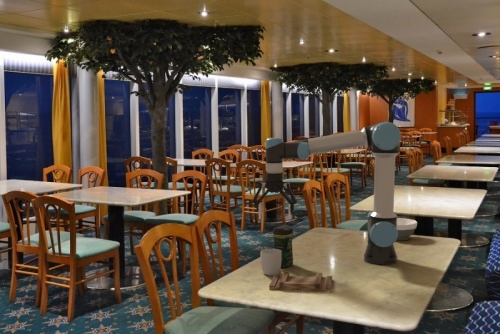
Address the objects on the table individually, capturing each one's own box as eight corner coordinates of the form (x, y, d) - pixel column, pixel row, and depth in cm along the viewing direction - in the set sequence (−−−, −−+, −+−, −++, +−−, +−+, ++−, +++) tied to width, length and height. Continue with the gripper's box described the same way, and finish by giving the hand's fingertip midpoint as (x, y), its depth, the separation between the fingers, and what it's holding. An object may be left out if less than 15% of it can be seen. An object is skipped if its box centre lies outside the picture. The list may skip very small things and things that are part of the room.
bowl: (375, 235, 310) (375, 218, 310) (408, 234, 312) (408, 217, 312) (387, 243, 291) (387, 225, 290) (423, 241, 293) (423, 224, 292)
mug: (276, 277, 234) (275, 254, 233) (257, 275, 239) (257, 252, 238) (288, 269, 245) (288, 247, 245) (270, 267, 250) (269, 246, 249)
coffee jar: (285, 269, 247) (285, 228, 245) (270, 266, 251) (269, 226, 249) (296, 264, 255) (295, 224, 253) (281, 261, 259) (280, 223, 257)
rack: (332, 279, 229) (332, 273, 229) (330, 291, 214) (330, 284, 213) (275, 277, 234) (274, 271, 234) (269, 289, 218) (269, 282, 218)
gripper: (302, 171, 249) (303, 217, 251) (248, 171, 254) (249, 216, 256) (301, 173, 242) (301, 220, 244) (245, 172, 247) (246, 219, 249)
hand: (274, 218), depth 250 cm, fingers open, 13 cm apart
